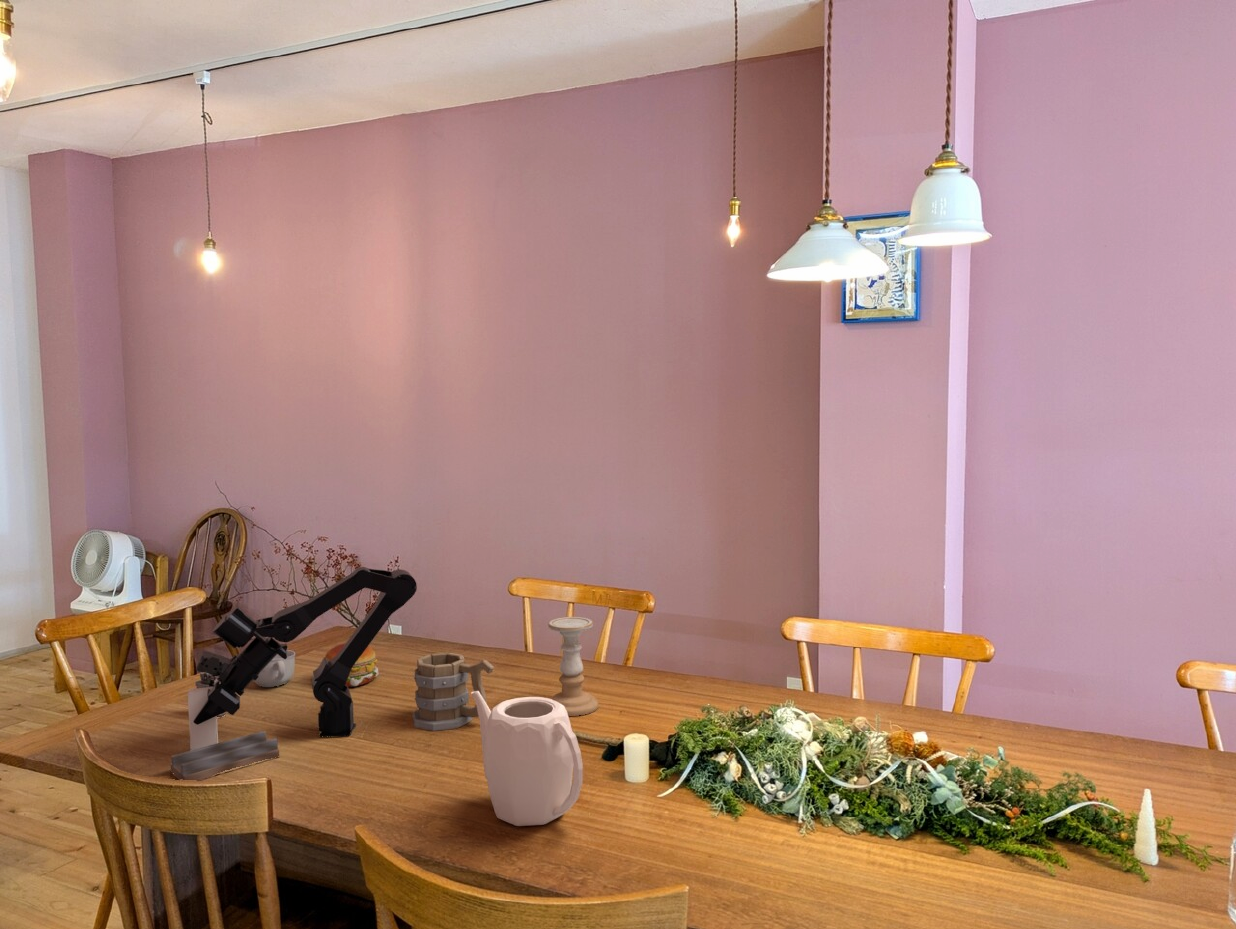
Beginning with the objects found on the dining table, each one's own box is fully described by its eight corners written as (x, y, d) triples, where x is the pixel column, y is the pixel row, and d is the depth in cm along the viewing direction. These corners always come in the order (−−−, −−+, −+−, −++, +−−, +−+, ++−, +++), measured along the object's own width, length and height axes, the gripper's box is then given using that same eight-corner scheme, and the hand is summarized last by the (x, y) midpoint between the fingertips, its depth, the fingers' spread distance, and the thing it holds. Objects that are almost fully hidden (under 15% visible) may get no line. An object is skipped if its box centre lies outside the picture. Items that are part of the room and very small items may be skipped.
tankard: (401, 725, 196) (399, 658, 195) (438, 707, 207) (436, 644, 206) (474, 740, 187) (473, 670, 186) (509, 720, 198) (507, 654, 197)
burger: (320, 678, 230) (319, 640, 230) (374, 671, 236) (372, 634, 235) (327, 693, 218) (325, 654, 217) (383, 685, 224) (382, 646, 223)
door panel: (218, 747, 185) (215, 686, 184) (217, 751, 183) (214, 689, 182) (191, 750, 183) (188, 689, 182) (190, 755, 181) (187, 693, 180)
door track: (263, 746, 185) (262, 730, 185) (279, 757, 179) (278, 740, 179) (171, 772, 173) (170, 754, 172) (185, 784, 167) (184, 766, 167)
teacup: (250, 681, 229) (248, 650, 228) (294, 675, 233) (293, 645, 233) (252, 697, 216) (251, 665, 216) (299, 690, 221) (298, 659, 220)
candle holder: (575, 720, 197) (573, 631, 196) (534, 709, 205) (532, 623, 203) (609, 705, 207) (608, 620, 206) (569, 695, 214) (567, 613, 213)
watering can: (505, 775, 169) (503, 678, 168) (612, 816, 152) (610, 708, 151) (441, 805, 157) (438, 701, 156) (549, 852, 140) (546, 736, 139)
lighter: (193, 714, 205) (191, 672, 204) (206, 709, 208) (204, 668, 207) (216, 719, 201) (214, 676, 200) (229, 715, 204) (227, 672, 203)
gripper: (222, 627, 191) (167, 684, 188) (218, 649, 174) (158, 712, 171) (262, 658, 195) (210, 715, 191) (263, 683, 177) (205, 745, 174)
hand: (195, 720), depth 182 cm, fingers closed on door panel, 2 cm apart
